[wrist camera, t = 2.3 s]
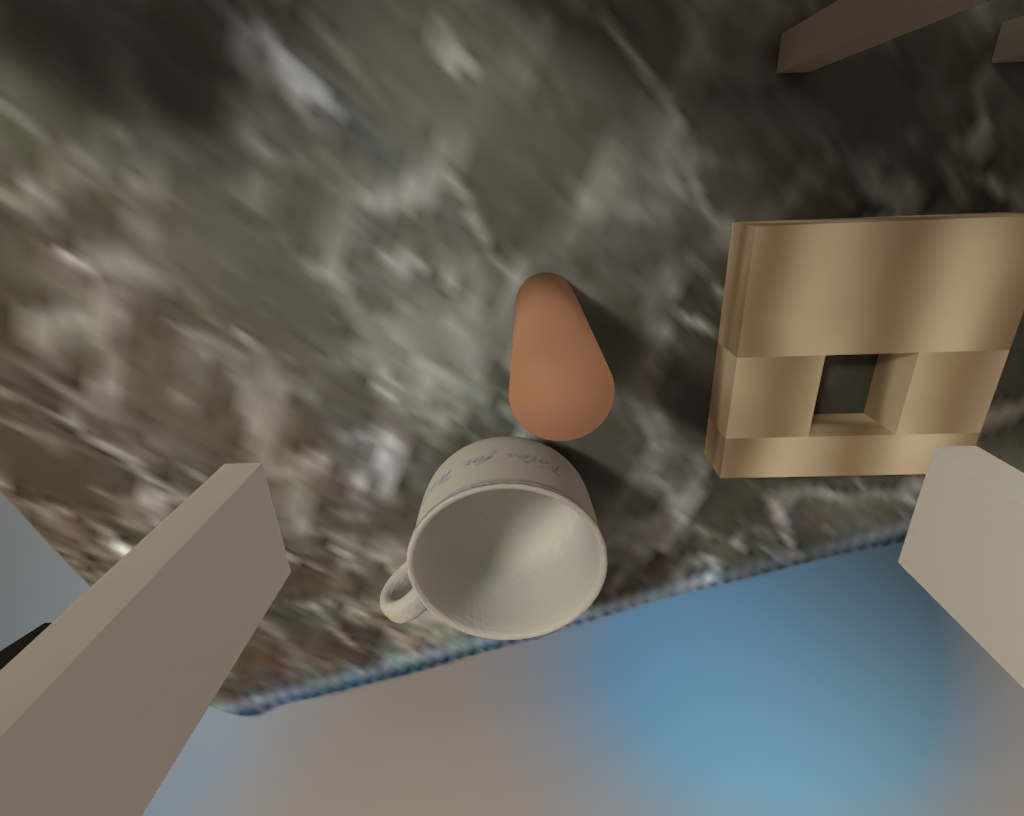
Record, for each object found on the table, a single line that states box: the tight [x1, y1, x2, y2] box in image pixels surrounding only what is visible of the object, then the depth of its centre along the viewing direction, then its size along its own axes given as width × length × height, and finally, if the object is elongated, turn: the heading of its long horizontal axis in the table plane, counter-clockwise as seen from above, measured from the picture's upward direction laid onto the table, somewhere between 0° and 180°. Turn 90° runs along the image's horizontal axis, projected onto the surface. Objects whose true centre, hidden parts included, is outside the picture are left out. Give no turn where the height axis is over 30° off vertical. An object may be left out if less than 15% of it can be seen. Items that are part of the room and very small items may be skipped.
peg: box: [509, 273, 615, 441], centre depth 23 cm, size 3×3×14 cm
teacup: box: [380, 436, 608, 640], centre depth 31 cm, size 14×11×8 cm
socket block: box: [704, 212, 1024, 478], centre depth 29 cm, size 14×14×3 cm
